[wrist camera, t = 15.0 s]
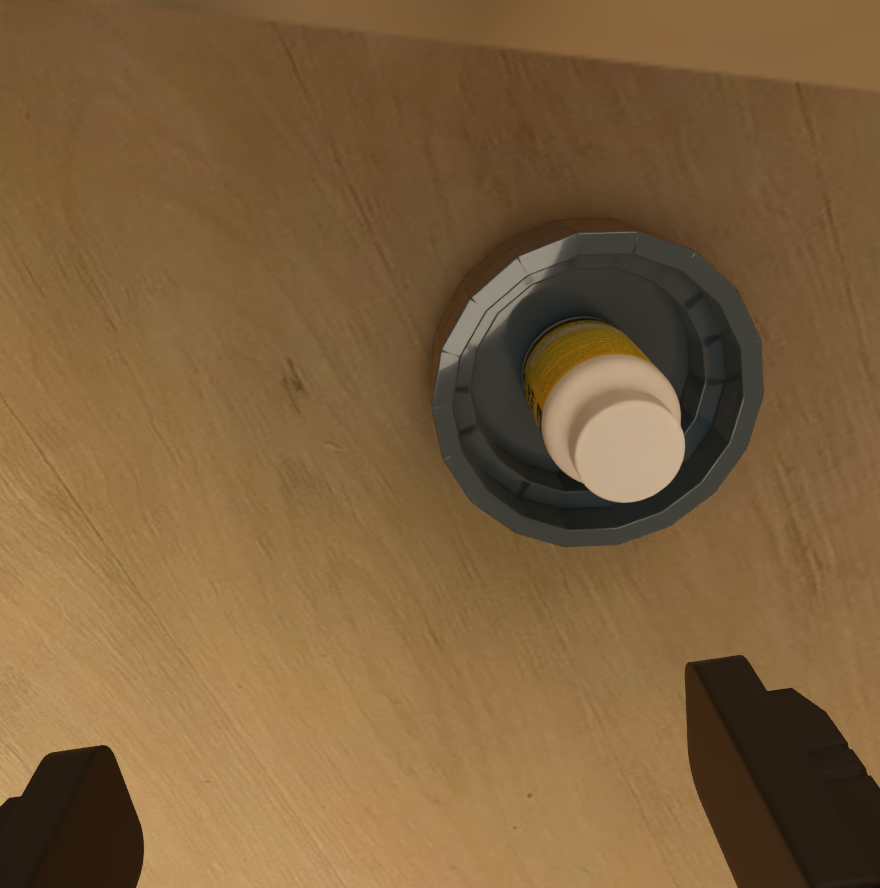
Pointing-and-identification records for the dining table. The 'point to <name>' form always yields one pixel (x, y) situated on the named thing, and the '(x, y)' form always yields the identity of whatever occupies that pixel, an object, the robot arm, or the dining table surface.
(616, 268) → the bowl
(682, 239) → the dining table surface
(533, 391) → the supplement bottle
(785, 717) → the robot arm
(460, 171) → the dining table surface
